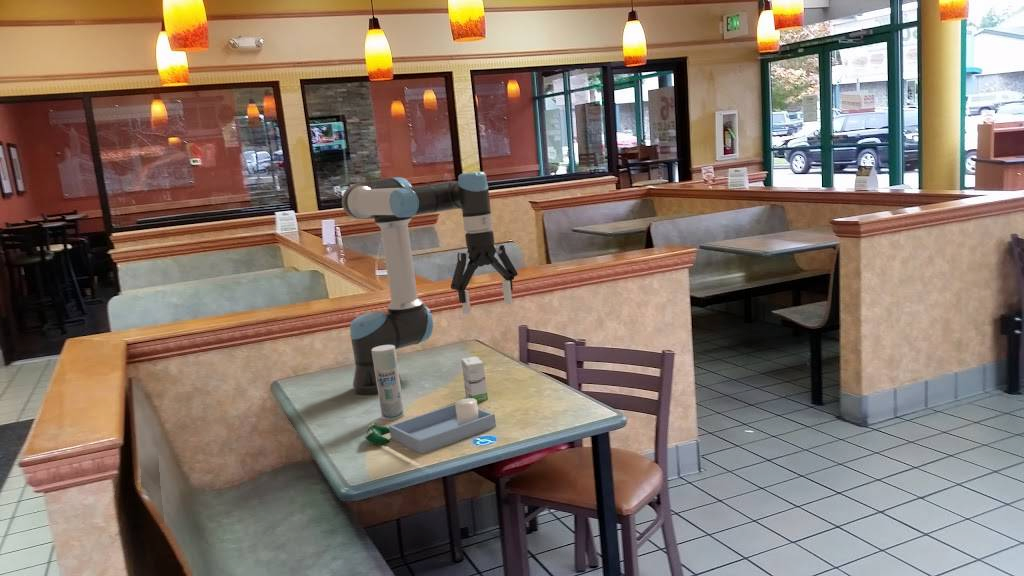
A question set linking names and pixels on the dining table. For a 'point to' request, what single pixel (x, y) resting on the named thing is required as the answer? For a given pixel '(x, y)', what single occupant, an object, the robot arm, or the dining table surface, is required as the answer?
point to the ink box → (474, 378)
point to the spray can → (388, 382)
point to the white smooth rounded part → (466, 410)
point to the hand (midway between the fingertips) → (488, 308)
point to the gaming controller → (377, 434)
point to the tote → (438, 429)
